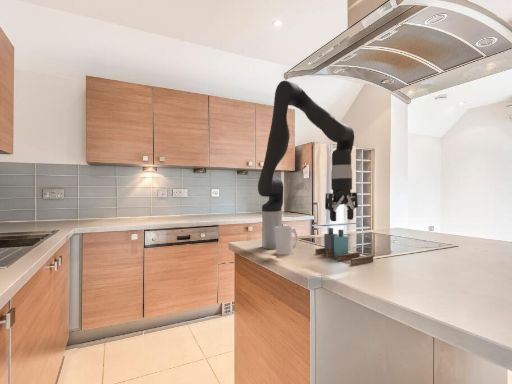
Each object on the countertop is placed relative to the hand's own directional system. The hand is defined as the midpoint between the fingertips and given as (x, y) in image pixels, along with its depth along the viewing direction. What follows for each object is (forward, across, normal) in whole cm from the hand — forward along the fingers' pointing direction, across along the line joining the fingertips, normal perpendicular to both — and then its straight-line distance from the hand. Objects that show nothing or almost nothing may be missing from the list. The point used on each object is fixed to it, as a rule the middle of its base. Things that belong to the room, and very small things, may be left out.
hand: (341, 220), depth 107 cm
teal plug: (+14, 0, 0) cm, 14 cm away
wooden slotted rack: (+15, 0, 0) cm, 15 cm away
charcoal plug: (+14, 0, -6) cm, 15 cm away
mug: (+16, +13, -18) cm, 27 cm away
